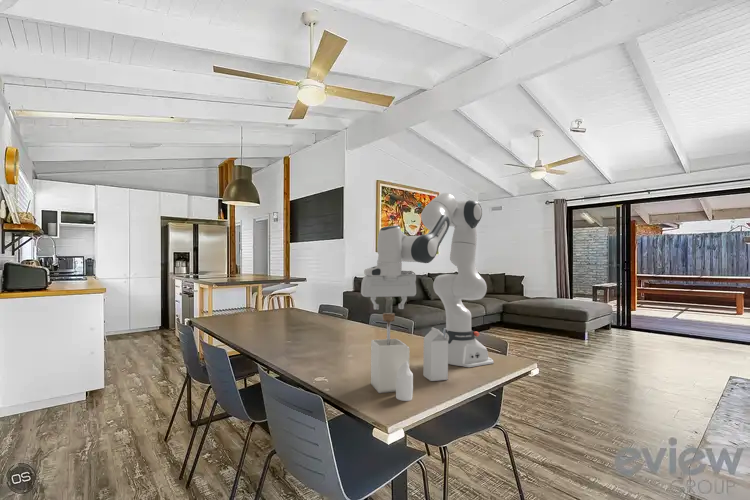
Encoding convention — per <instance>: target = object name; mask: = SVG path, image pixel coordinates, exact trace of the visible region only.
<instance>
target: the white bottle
mask: <svg viewBox="0 0 750 500" xmlns="http://www.w3.org/2000/svg"><path fill="white" fill-rule="evenodd" d="M413 393H414V373H413V372H412V371H411V369H410V363H409V364H408V362H405V363H403V364H402V365H401V367H400V368H399V369H398V372H397V377H396V392H395V398H396V399H397V400H398V401H403V402H408V401H409V402H411V401H412V400H413Z"/></svg>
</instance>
